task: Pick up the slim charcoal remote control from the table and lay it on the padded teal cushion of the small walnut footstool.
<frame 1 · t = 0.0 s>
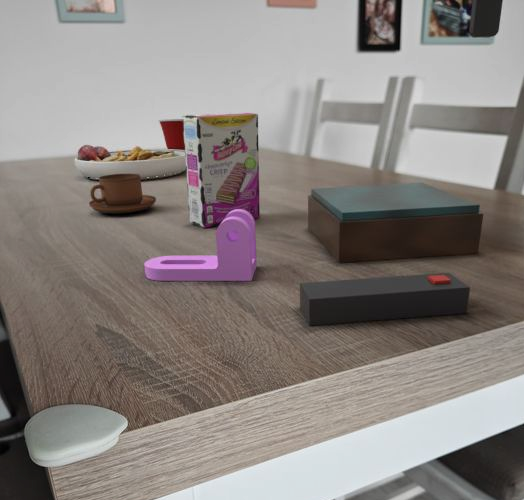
hand: (510, 31, 42), 23 cm above the table, tool pointing down, fingers open, 8 cm apart
candy bar box: (226, 222, 91), on the table
footstool: (384, 239, 77), on the table
plastic cup: (178, 158, 182), on the table
remote: (381, 310, 53), on the table
bracket: (200, 275, 66), on the table
bowl: (136, 175, 148), on the table
cup and saucer: (124, 212, 102), on the table
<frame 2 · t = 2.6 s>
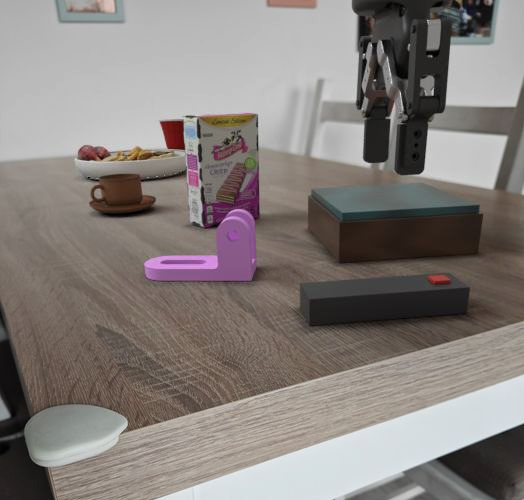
hand: (390, 167, 47), 13 cm above the table, tool pointing down, fingers open, 8 cm apart
nothing on the table moved.
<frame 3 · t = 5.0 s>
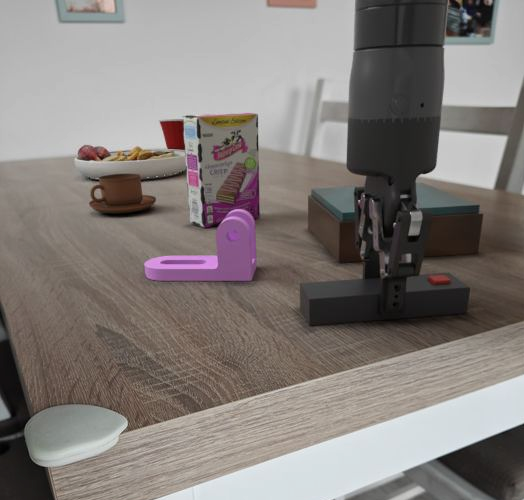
hand: (381, 305, 53), 1 cm above the table, tool pointing down, fingers closed on remote, 4 cm apart
remote: (381, 310, 53), on the table, touching gripper
everything else where it was.
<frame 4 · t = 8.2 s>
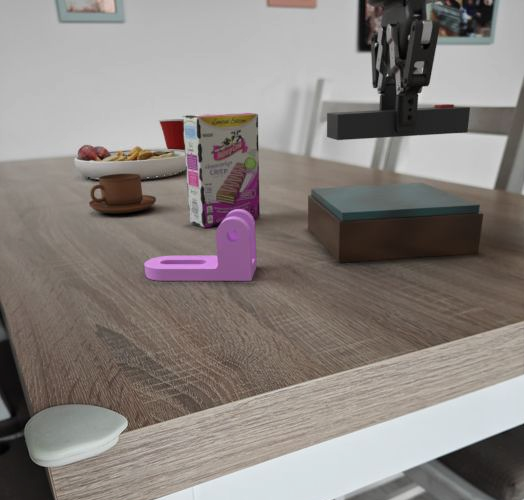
hand: (396, 129, 63), 15 cm above the table, tool pointing down, fingers closed on remote, 4 cm apart
remote: (395, 134, 63), point 14 cm above the table, touching gripper
everything else where it was.
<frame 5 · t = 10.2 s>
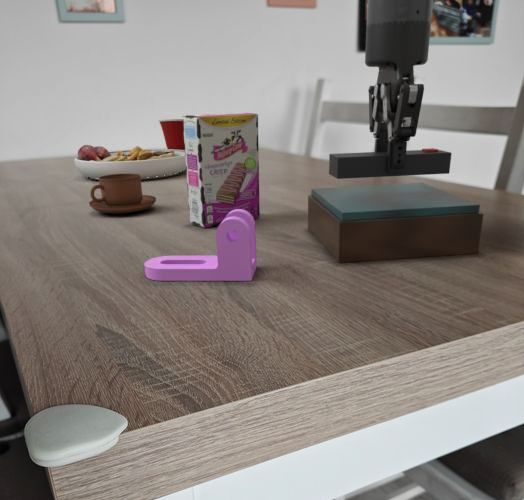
hand: (388, 169, 73), 9 cm above the table, tool pointing down, fingers closed on remote, 4 cm apart
remote: (388, 173, 73), point 9 cm above the table, touching gripper
everything else where it was.
when the fingers open (7 cm above the table, at t = 11.4 s): remote stays where it is, resting on footstool.
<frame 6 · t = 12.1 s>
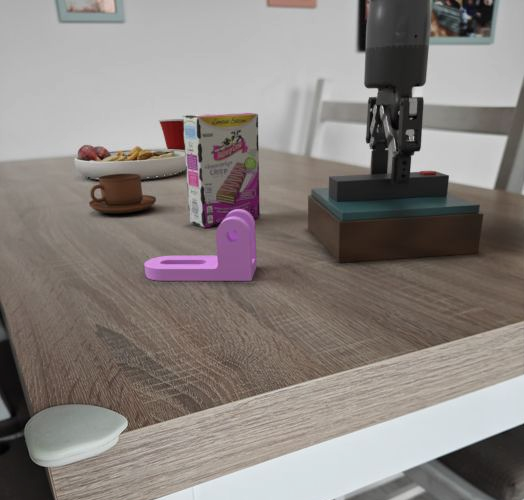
hand: (388, 182, 74), 8 cm above the table, tool pointing down, fingers open, 8 cm apart
remote: (386, 195, 75), point 6 cm above the table, touching footstool
everything else where it was.
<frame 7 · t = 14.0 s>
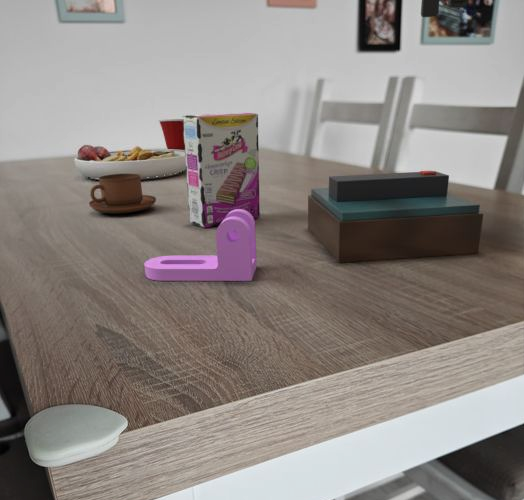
hand: (442, 12, 71), 28 cm above the table, tool pointing down, fingers open, 8 cm apart
nothing on the table moved.
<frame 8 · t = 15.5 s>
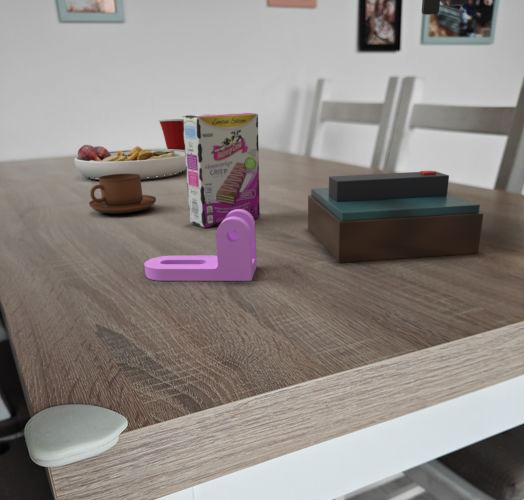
hand: (443, 10, 71), 28 cm above the table, tool pointing down, fingers open, 8 cm apart
nothing on the table moved.
at the end: remote inside the target area on the footstool (0.1 cm from its centre), point 6.0 cm above the footstool's base; remote tilted 0°; the gripper is holding nothing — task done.
